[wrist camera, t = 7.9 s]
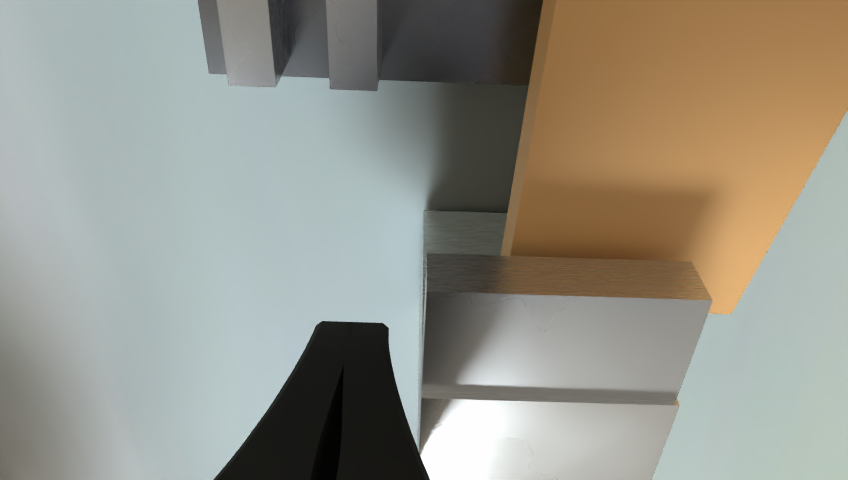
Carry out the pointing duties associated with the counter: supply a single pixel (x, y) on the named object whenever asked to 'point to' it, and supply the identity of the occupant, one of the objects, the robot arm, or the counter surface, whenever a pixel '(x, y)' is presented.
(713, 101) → the orange rectangular bar
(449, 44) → the heatsink block
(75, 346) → the counter surface
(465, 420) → the block
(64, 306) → the counter surface
